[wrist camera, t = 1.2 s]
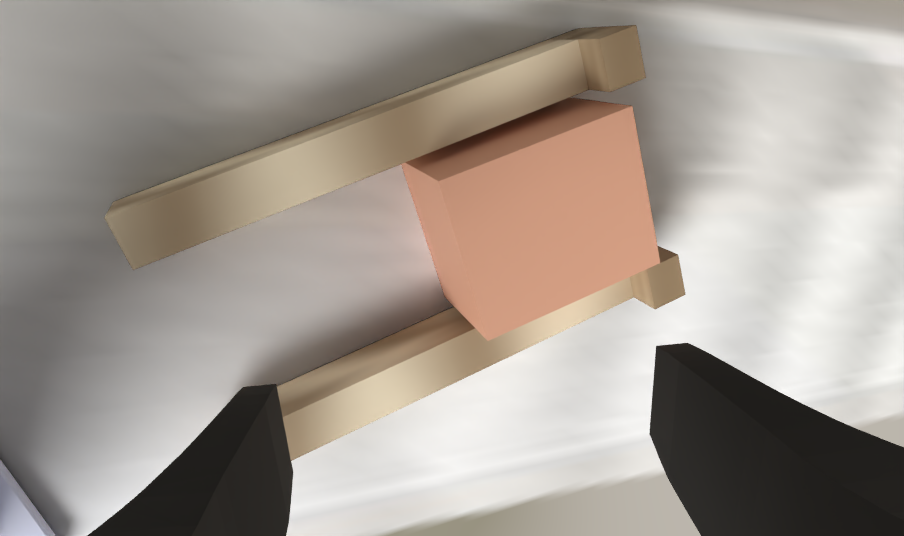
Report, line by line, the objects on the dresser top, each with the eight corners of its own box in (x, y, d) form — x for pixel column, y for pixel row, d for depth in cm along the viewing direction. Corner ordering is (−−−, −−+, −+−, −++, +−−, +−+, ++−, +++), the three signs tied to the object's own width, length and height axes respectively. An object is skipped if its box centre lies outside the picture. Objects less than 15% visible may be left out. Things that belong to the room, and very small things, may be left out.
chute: (244, 446, 22) (251, 505, 19) (113, 201, 19) (97, 229, 16) (630, 266, 25) (685, 294, 22) (578, 28, 22) (636, 25, 19)
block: (443, 295, 23) (488, 341, 20) (398, 158, 21) (438, 181, 18) (593, 231, 24) (660, 262, 21) (563, 96, 22) (632, 106, 19)
